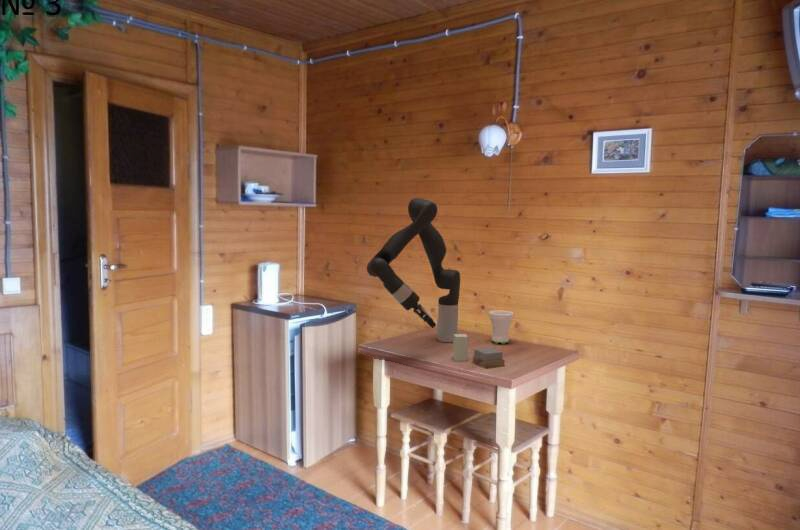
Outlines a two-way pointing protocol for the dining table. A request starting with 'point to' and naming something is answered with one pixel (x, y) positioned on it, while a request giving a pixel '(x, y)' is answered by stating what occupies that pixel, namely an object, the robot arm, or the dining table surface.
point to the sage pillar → (460, 347)
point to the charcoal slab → (488, 354)
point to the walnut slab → (488, 363)
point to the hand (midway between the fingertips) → (433, 324)
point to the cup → (500, 325)
